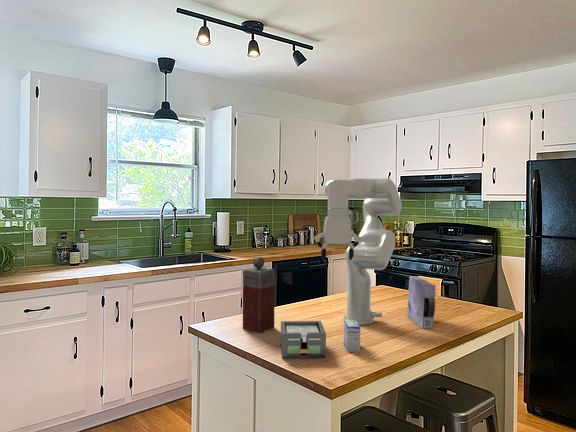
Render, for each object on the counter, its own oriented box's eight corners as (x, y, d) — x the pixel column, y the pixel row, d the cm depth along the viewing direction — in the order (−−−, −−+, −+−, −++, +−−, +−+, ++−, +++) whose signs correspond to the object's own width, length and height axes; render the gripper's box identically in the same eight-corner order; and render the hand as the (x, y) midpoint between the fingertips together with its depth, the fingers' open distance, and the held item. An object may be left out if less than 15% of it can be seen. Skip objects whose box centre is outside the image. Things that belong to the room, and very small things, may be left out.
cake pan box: (435, 330, 172) (436, 284, 171) (423, 330, 171) (424, 285, 171) (417, 316, 191) (418, 275, 190) (406, 316, 191) (407, 275, 190)
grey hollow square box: (320, 343, 155) (320, 320, 155) (325, 358, 141) (326, 333, 141) (280, 343, 155) (280, 321, 154) (282, 358, 140) (282, 334, 140)
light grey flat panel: (316, 328, 153) (316, 325, 153) (321, 342, 139) (321, 338, 139) (285, 328, 153) (285, 325, 153) (287, 342, 139) (287, 338, 139)
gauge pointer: (308, 351, 140) (308, 348, 140) (309, 353, 139) (309, 350, 139) (299, 352, 140) (299, 348, 140) (299, 353, 139) (299, 350, 139)
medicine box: (343, 344, 155) (343, 319, 154) (356, 344, 155) (356, 319, 154) (347, 352, 147) (347, 326, 146) (360, 352, 147) (360, 326, 146)
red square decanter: (253, 322, 180) (253, 254, 179) (274, 327, 173) (275, 256, 172) (238, 327, 173) (238, 256, 172) (259, 333, 166) (260, 259, 165)
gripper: (359, 212, 166) (358, 258, 167) (313, 212, 166) (312, 258, 166) (363, 213, 159) (362, 261, 160) (315, 213, 158) (315, 261, 159)
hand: (337, 259), depth 163 cm, fingers open, 9 cm apart
